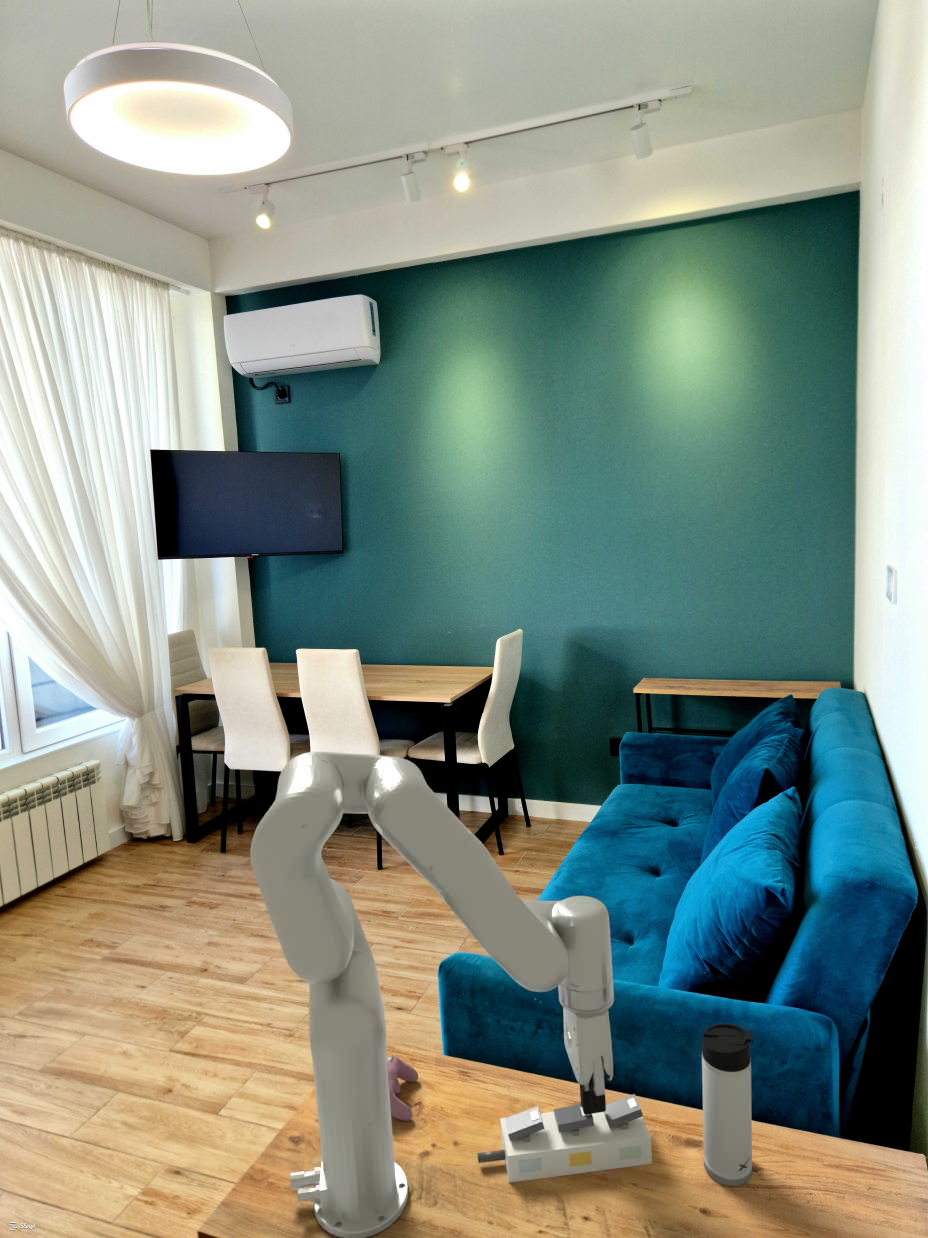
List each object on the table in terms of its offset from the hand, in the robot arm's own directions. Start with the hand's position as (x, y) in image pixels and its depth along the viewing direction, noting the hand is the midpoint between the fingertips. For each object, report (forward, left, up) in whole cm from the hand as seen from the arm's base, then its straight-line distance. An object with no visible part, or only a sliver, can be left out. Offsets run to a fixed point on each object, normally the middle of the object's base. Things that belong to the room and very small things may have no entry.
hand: (593, 1109), depth 114 cm
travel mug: (+17, -6, -7) cm, 19 cm away
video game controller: (-28, +15, -7) cm, 32 cm away
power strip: (-5, 0, -7) cm, 8 cm away
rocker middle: (-3, 0, -1) cm, 3 cm away
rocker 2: (+4, 0, -1) cm, 4 cm away
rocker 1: (-10, 0, -1) cm, 10 cm away
